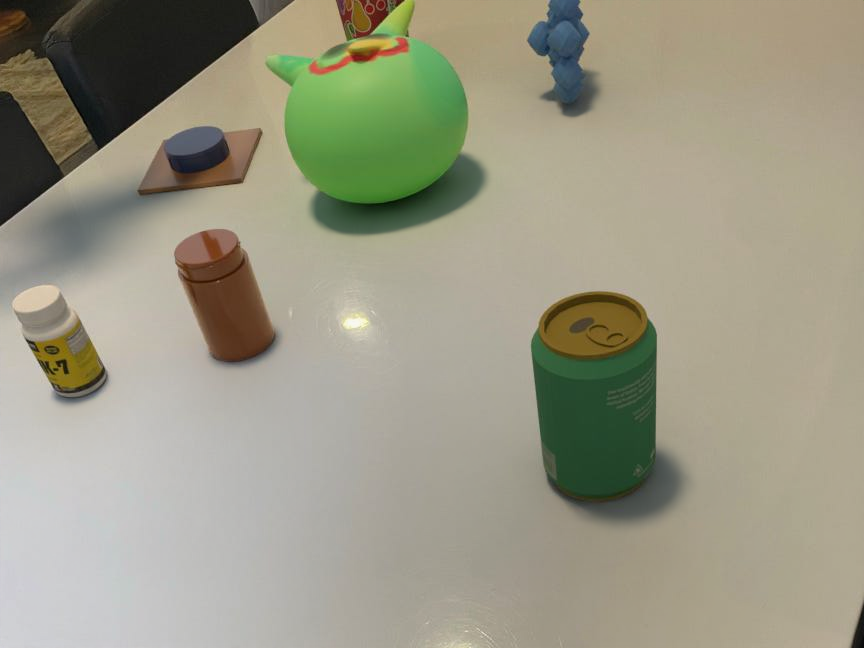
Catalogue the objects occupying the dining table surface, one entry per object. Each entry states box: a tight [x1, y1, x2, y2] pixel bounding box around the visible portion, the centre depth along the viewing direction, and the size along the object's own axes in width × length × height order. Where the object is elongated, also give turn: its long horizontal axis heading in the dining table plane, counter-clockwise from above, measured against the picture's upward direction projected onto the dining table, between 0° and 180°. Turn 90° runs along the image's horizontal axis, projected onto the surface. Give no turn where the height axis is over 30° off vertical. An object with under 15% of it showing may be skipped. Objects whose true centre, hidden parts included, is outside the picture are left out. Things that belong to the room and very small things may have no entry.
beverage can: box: [530, 290, 658, 502], centre depth 65 cm, size 8×8×12 cm
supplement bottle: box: [11, 284, 107, 398], centre depth 82 cm, size 5×5×8 cm
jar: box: [173, 228, 276, 362], centre depth 82 cm, size 6×6×9 cm
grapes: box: [526, 0, 590, 105], centre depth 103 cm, size 12×7×12 cm, turn 175°
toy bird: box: [264, 0, 469, 205], centre depth 94 cm, size 18×17×15 cm
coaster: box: [137, 127, 263, 195], centre depth 109 cm, size 12×12×1 cm
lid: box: [164, 125, 229, 173], centre depth 108 cm, size 7×7×2 cm
